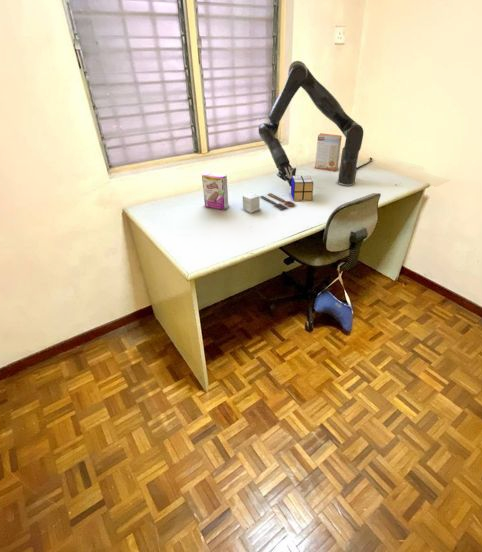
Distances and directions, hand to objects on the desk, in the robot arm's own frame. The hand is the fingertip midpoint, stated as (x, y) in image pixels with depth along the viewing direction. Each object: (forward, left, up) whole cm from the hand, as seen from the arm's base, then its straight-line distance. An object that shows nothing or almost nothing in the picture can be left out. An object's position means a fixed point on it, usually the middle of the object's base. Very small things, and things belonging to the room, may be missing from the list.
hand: (293, 186), depth 181 cm
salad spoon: (+12, +4, -4) cm, 13 cm away
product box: (+31, +3, -4) cm, 31 cm away
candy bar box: (+43, -10, -4) cm, 44 cm away
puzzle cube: (0, +7, -4) cm, 8 cm away
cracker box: (-45, -17, -4) cm, 48 cm away
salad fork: (+17, +4, -4) cm, 18 cm away
